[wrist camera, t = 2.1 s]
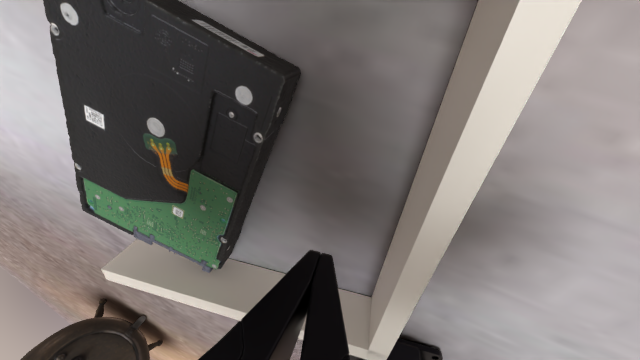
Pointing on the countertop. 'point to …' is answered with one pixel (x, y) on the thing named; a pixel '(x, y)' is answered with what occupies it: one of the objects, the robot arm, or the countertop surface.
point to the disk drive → (167, 119)
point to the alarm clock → (95, 341)
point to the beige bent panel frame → (425, 194)
